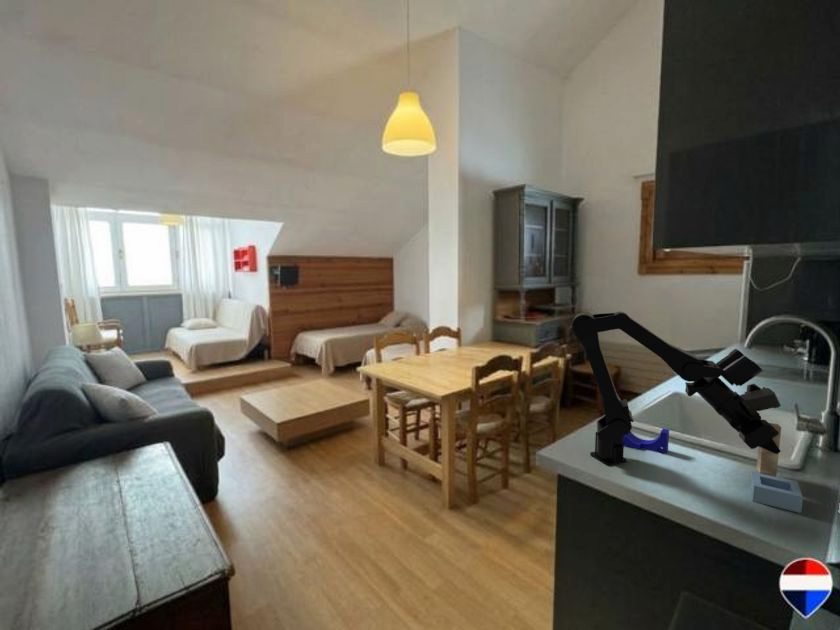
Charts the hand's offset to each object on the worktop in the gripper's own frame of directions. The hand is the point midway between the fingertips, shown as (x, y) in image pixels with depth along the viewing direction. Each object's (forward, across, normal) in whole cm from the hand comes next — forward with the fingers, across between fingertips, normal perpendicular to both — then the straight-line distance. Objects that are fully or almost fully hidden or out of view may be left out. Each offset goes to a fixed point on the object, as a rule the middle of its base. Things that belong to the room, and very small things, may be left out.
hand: (776, 450), depth 91 cm
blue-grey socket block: (+4, -7, +7) cm, 11 cm away
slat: (+4, 0, +6) cm, 7 cm away
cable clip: (-12, +10, +24) cm, 29 cm away
